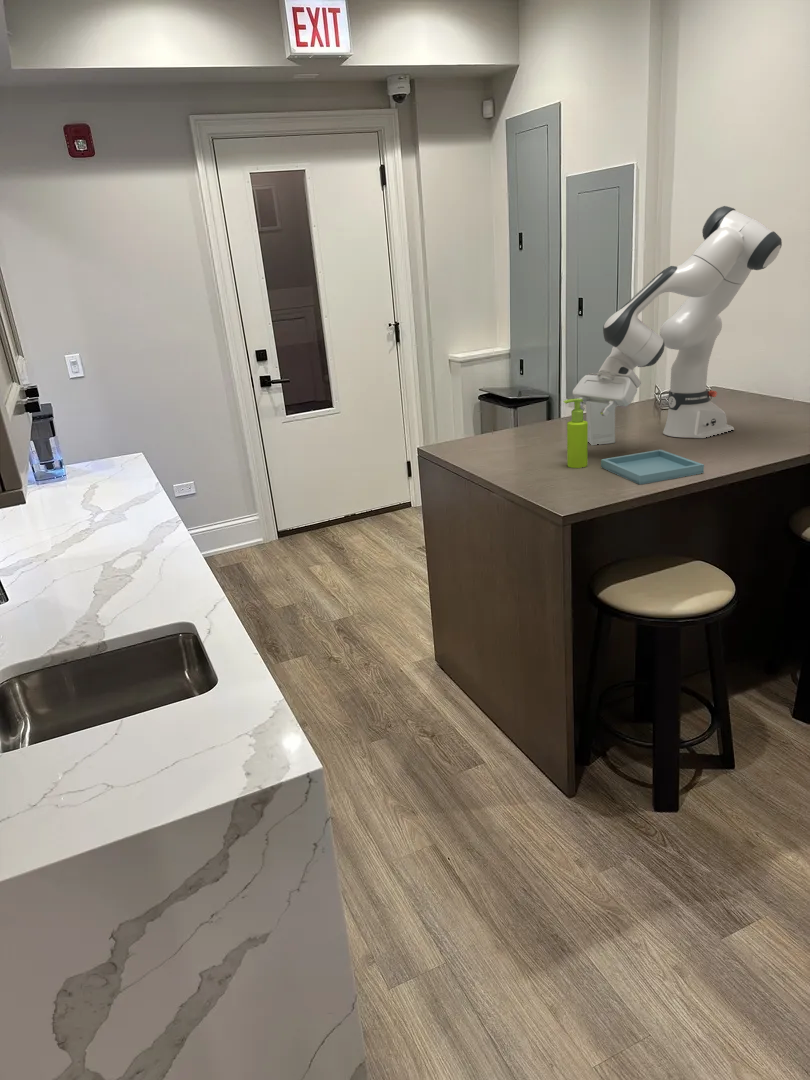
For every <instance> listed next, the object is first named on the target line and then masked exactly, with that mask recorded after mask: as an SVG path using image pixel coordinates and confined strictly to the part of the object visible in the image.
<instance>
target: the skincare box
mask: <svg viewBox="0 0 810 1080" xmlns="http://www.w3.org/2000/svg"><path fill="white" fill-rule="evenodd" d="M608 405H609V404H603V403H595V402H587V401H586V403H585V407H586V408H585V412H586V417H585V418H586V419H585V421H587V422H588V442H589V443H590V444H591V445H590V444H589V443H588V444H589V445H590V446H596V445H597V444H599V445H605V444H607V445H608V444H615V443H616V408H615V409H613V410H612V411H611V412H609V414H608V415H607V416H602V415H601V414H600V412H601V411H602V408H606V407H607V406H608Z"/></svg>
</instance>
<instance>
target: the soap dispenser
mask: <svg viewBox="0 0 810 1080" xmlns="http://www.w3.org/2000/svg"><path fill="white" fill-rule="evenodd" d="M562 402H563V403H564V404H570V403H574V404H573V405H574V406H573V407H574V408H573V409H572V410H571V420H569V421H567V422H566V435H567V436H566V438H567V439H566V440H567V441H566V443H567V444H566V446H567V447H566V455H567V456H566V457H567V458H566V460H567V461H566V462H567V463H566V464H567V465H566V466H567V467H568V468H571V469H582V467H583V468H585V467H588V447H589V446H588V445H589V443H588V422H587V421H586V420H584V411H583V410H582V409H580V402H583V399H576V398H569V399H566V400H563V401H562Z"/></svg>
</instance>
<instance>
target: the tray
mask: <svg viewBox="0 0 810 1080" xmlns="http://www.w3.org/2000/svg"><path fill="white" fill-rule="evenodd" d="M601 467H602V468H601ZM600 468H601V469H603V468H604V469H603V470H605V469H606V470H605V471H607V470H608V472H610V473H612V474H614V473H615V474H614V475H616V474H617V476H619V477H622V478H624V479H626V480H628V481H629V482H630V481H631V482H632V481H633V483H635V484H637V485H646V484H651V483H658V482H662V481H663V480H664V481H669V480H674V479H680V478H684V477H685V476H686V477H691V475H692V476H697V475H701V473H703V474H704V471H705V464H704V463H701V462H698V461H695V460H692V459H690V458H686V457H683V456H681V455H678V454H675V453H671V452H670V451H667V450H663V449H656V450H650V451H645V452H644V451H643V452H638V453H632V454H631V453H630V454H626V455H620V456H619V455H618V456H615V457H614V456H613V457H607V458H603V459H600ZM696 474H697V475H696ZM679 477H680V478H679ZM668 479H669V480H668Z"/></svg>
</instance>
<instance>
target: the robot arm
mask: <svg viewBox="0 0 810 1080" xmlns="http://www.w3.org/2000/svg"><path fill="white" fill-rule="evenodd" d="M701 231H702V238H703V242H701V243H700V245H699V246H698V247H697V248H696V249H695V250H694V252H692V253H691V255H690V256H689V258H687V259H686V260H685V261H684V262H683V263H681V264H679V265H677V266H674V265H670V266H668V267H667V268H665V269H663V270H661V271H660V273H658V274H657V275H656V276H654V278H652V280H650V281H649V282H648V283H646V285H645V286H644V287H643V288H641V290H639V291H638V292H637V293H636V294H635V295H634V296H633V297H631V299H630V300H629V301H627V303H625V304H624V305H623V306H622V307H620V308H619V309H618V310H617V311H616V312H614V313H613V314H612V315H611V316H609V318H607V320H606V321H605V323H604V324H603V326H602V335H603V338H604V341H605V342H606V343H607V344H609V345H611V346H612V348H611V352H610V354H609V355H608V356H607V357H606V358H605V359H604V362H603V363H602V365H601V366H600V367H599V370H598V372H597V373H596V372H589V373H588V374H585V375H584V376H583V377H581V378H580V379H579V381H578V382H577V384H576V385H575V387H574V388H573V389H572V396H573V397H574V399H583V402H580V409H582V410H583V412H584V411H585V410H586V408H585V407H584V405H586V401H587V402H595V403H603V404H609V405H608V406H607V407H606V408H602V411H601V412H600V414H601V415H602V416H607V415H608V414H609V412H611V411H612V410H613V409H615V410H616V408H617V406H620V407H627V406H629V405H630V404H631V403H632V402H633V400H634V398H635V396H636V394H637V393H638V388H640V386H641V384H642V381H641V380H640V378H639V377H638V376H637V374H636V373H635V372H634V369H635V368H636V367H637V368H645V367H651V366H654V365H655V364H656V363H657V362H658V361H659V360H660V359H661V357H662V356H663V353H664V351H665V347H666V348H667V349H670V350H675V351H676V350H677V351H678V352H677V356H676V358H675V360H674V361H673V363H672V365H671V368H670V381H669V383H670V384H669V385H670V386H669V391H668V395H667V396H668V398H667V402H668V411H667V412H668V413H667V417H666V422H665V425H664V429H663V431H662V433H663V434H664V435H665V436H668V437H674V438H694V439H706V437H707V438H710V436H711V437H714V436H713V435H715V436H718V435H717V434H719V435H722V434H721V433H723V434H725V433H724V432H727V433H729V432H728V431H731V430H734V431H735V428H734V426H732V425H731V424H728V422H727V421H728V420H727V415H726V412H725V411H724V410H723V409H722V408H721V407H719V406H718V405H717V404H715V403H714V402H712V401H711V398H715V397H717V395H718V392H717V391H716V390H708V389H707V381H708V371H709V369H708V368H709V363H710V359H711V356H712V352H713V348H714V345H715V343H716V340H717V338H718V336H719V335H720V333H721V331H722V328H723V321H722V318H721V317H720V314H721V313H722V312H723V311H724V310H726V309H727V308H728V307H729V306H730V304H731V302H732V301H733V299H735V296H736V295H737V293H738V292H739V291H740V289H741V287H742V286H743V285H744V283H745V282H746V280H747V279H748V278H749V276H750V273H751V272H752V271H753V270H754V271H760V270H764V269H766V268H767V267H768V266H769V265H771V264H772V263H773V262H774V261H775V260H776V258H777V257H778V256H779V253H780V251H781V248H782V246H783V244H782V243H783V241H782V237H780V236H779V235H778V233H776V232H775V231H773V230H771V229H770V228H768V227H767V226H765V225H764V224H763V223H762V222H760V221H759V220H757V219H755V218H752V217H750V216H748V215H746V214H745V213H742V212H740V211H737V210H736V208H734V207H730V206H727V205H722V206H720V207H718V208H716V209H715V210H714V211H713V212H712V213H711V214H710V215H709V216H708V217H707V219H706V221H705V222H704V225H703V227H702V230H701ZM665 293H673V294H678V295H681V296H685V297H687V298H686V299H685V300H684V301H683V303H681V305H680V307H679V308H678V309H677V310H676V311H675V312H674V313H673V314H672V315H671V316H670V317H669V318H668V319H666V320H665V321H664V322H663V324H662V325H661V327H660V330H659V334H658V333H657V332H656V331H655V330H654V329H652V328H650V327H649V326H648V324H645V323H644V322H643V321H642V320H641V319H639V314H640V313H641V312H643V311H644V310H645V309H646V308H647V307H648V306H649V305H650V304H652V302H654V300H656V298H658V297H659V296H660V295H662V294H665ZM710 397H711V398H710ZM731 432H732V431H731Z"/></svg>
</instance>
